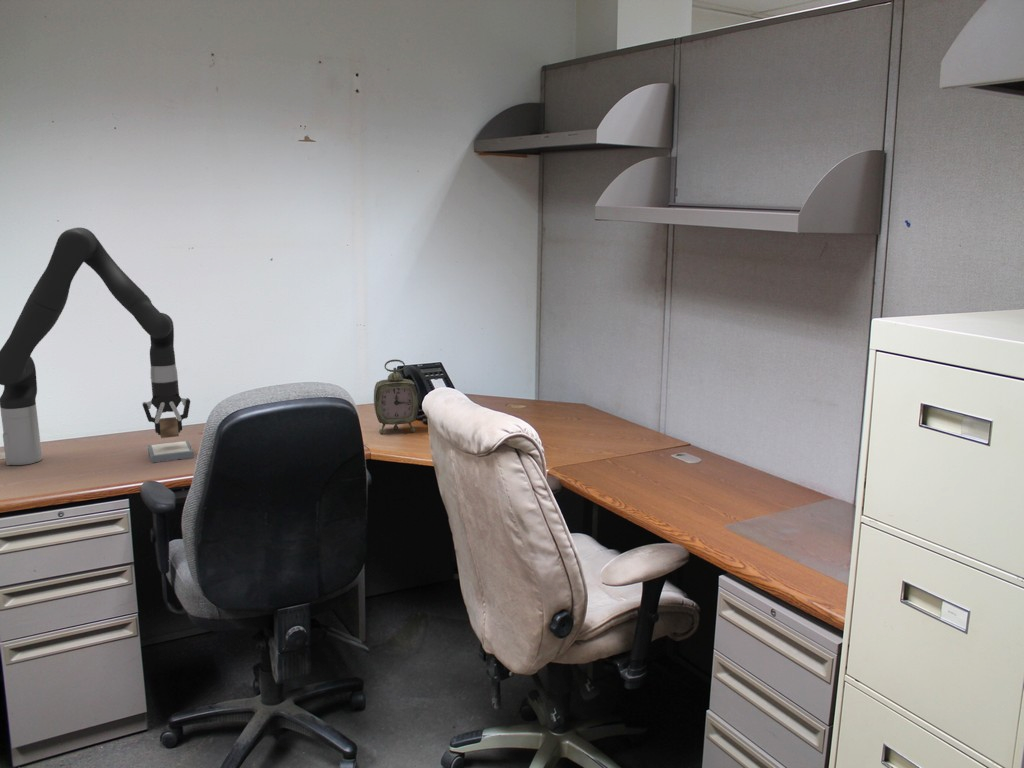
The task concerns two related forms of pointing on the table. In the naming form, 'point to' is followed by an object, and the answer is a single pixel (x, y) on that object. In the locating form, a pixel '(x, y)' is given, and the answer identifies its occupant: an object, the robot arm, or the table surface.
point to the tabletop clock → (395, 400)
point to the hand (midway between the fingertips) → (169, 433)
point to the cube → (168, 427)
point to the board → (170, 451)
